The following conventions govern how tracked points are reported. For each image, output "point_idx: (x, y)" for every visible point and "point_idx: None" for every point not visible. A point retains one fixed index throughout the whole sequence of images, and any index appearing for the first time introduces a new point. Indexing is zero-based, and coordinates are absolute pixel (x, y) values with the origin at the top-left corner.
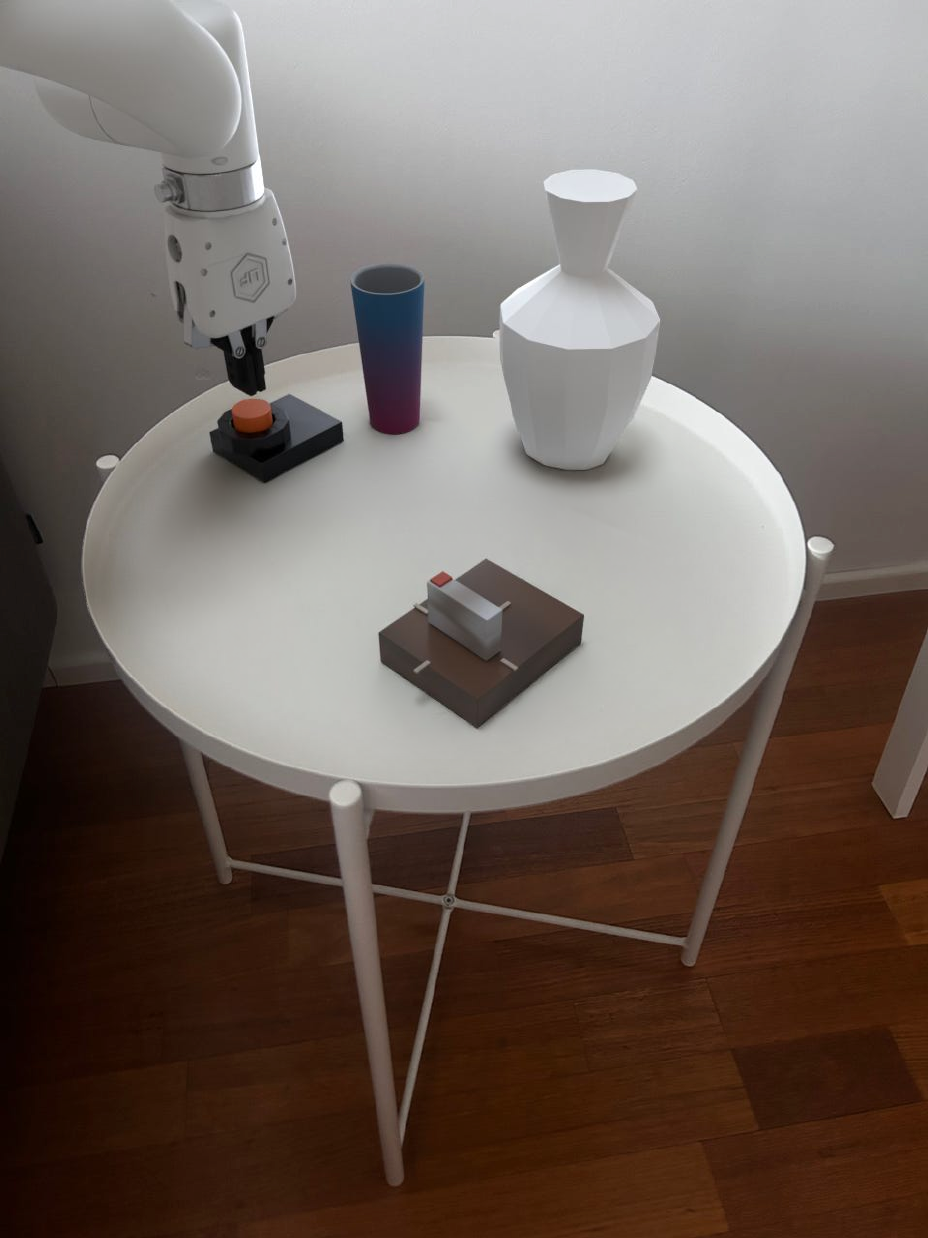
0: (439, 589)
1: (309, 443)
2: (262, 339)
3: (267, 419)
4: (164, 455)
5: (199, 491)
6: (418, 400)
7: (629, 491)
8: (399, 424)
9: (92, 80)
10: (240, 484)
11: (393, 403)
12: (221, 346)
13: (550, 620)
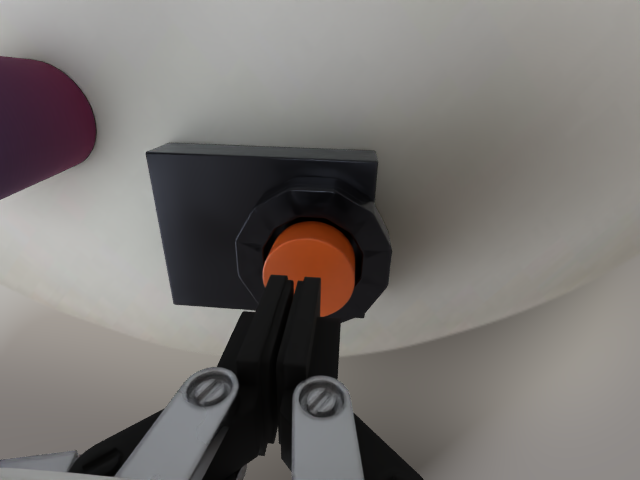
0: None
1: (245, 153)
2: (198, 395)
3: (300, 230)
4: (420, 339)
5: (468, 224)
6: None
7: None
8: (41, 68)
9: None
10: (406, 184)
11: (3, 74)
12: (391, 461)
13: None
